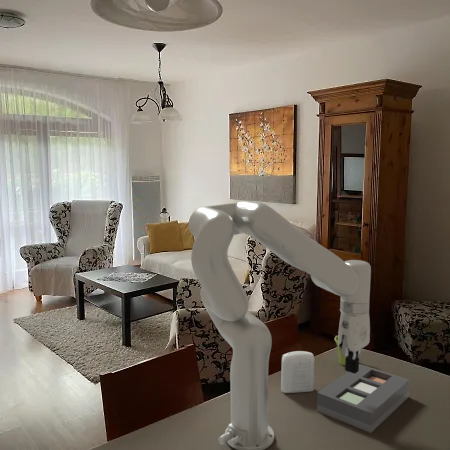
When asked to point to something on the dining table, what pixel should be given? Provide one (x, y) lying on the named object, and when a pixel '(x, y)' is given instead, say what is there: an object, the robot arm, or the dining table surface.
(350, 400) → the sage key
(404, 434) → the dining table surface
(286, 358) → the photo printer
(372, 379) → the terracotta key
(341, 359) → the plant pot
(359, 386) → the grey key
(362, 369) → the keypad
